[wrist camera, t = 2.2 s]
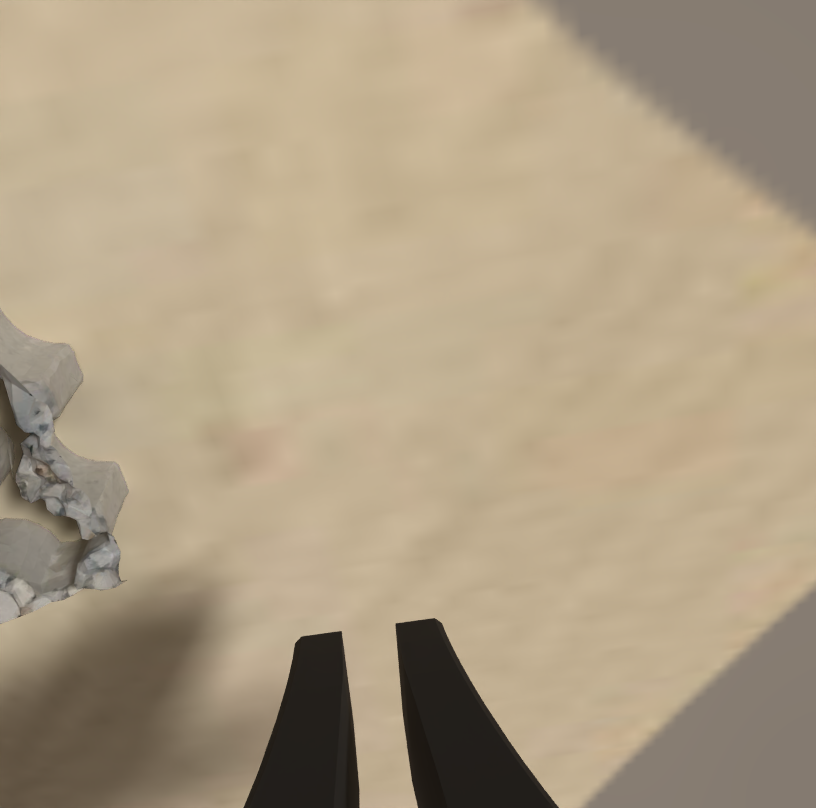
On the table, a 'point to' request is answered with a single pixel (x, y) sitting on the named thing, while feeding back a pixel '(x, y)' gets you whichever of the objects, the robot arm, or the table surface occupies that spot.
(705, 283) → the table surface
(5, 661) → the table surface
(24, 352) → the grey jagged block
